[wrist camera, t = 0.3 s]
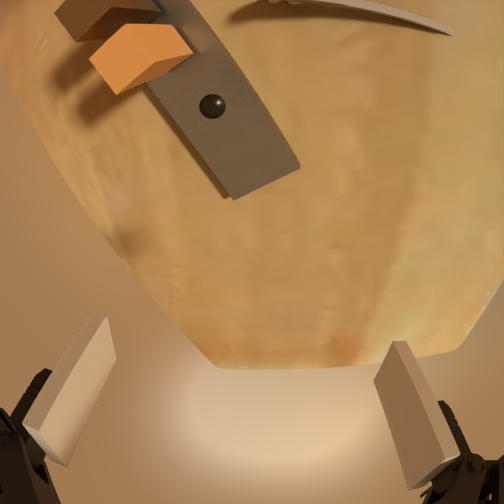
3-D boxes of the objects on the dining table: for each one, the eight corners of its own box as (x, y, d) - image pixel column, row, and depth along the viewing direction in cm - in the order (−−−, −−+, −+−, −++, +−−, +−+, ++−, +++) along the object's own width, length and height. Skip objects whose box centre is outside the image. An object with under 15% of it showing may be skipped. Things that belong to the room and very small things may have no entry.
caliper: (269, 4, 23) (266, -4, 18) (269, -5, 22) (266, -15, 17) (450, 35, 21) (479, 40, 16) (451, 27, 21) (480, 30, 16)
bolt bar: (156, -39, 19) (95, -63, 9) (299, 163, 34) (305, 224, 25) (97, 11, 23) (23, 15, 13) (235, 194, 38) (216, 261, 28)
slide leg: (173, 25, 23) (125, 23, 15) (195, 52, 25) (155, 62, 17) (144, 47, 25) (88, 59, 17) (164, 74, 27) (116, 94, 19)
